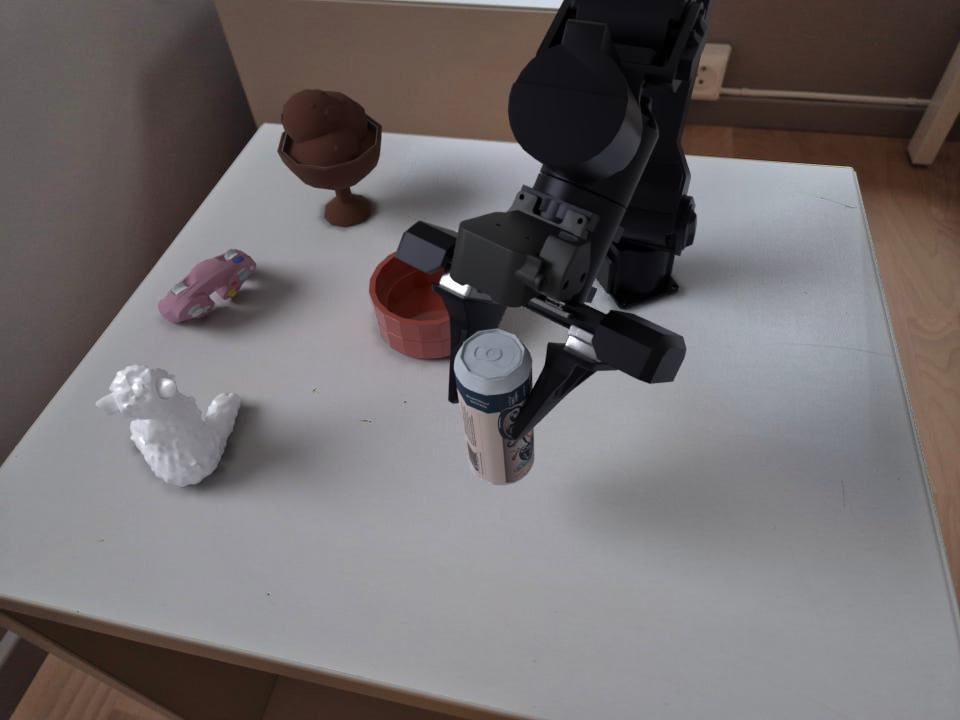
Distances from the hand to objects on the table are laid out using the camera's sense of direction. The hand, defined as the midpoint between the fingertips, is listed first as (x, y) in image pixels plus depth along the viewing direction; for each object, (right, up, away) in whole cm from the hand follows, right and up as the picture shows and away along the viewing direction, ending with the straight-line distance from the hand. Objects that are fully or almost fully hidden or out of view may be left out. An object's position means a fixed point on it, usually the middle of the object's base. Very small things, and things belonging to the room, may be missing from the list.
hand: (483, 420), depth 48 cm
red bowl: (-5, +8, +24) cm, 26 cm away
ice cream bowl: (-15, +21, +36) cm, 45 cm away
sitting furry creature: (-25, -4, +16) cm, 30 cm away
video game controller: (-27, +10, +28) cm, 40 cm away
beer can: (+1, -3, +6) cm, 7 cm away
